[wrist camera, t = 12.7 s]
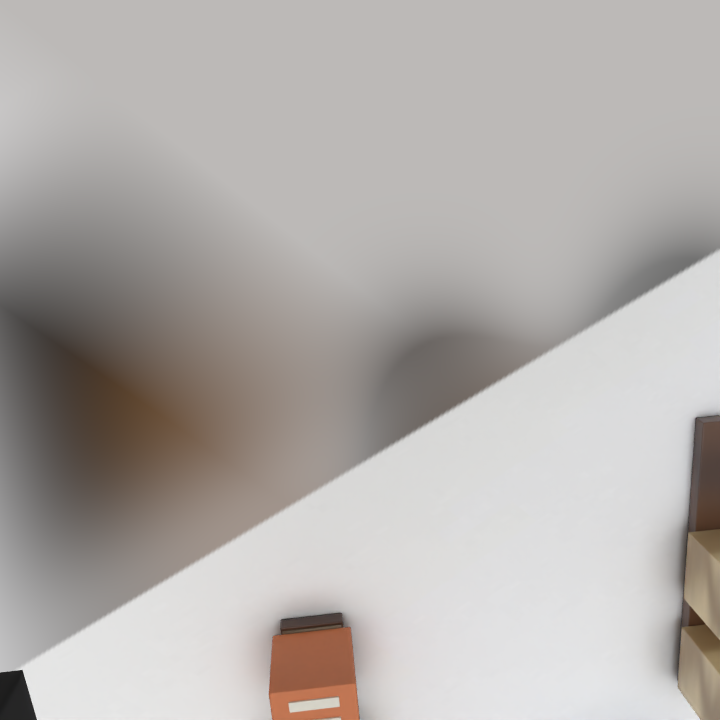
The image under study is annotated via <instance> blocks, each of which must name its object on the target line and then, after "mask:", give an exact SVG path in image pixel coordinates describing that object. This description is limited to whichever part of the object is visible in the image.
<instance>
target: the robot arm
mask: <svg viewBox="0 0 720 720" xmlns="http://www.w3.org/2000/svg"><path fill="white" fill-rule="evenodd" d="M0 720H37V719H36V715H35V712H34V708H33V705H32V701H31V698H30V695H29V691H28V688H27V684H26V681H25V677H24V674H23V670H18V671H10V672H1V673H0Z"/></svg>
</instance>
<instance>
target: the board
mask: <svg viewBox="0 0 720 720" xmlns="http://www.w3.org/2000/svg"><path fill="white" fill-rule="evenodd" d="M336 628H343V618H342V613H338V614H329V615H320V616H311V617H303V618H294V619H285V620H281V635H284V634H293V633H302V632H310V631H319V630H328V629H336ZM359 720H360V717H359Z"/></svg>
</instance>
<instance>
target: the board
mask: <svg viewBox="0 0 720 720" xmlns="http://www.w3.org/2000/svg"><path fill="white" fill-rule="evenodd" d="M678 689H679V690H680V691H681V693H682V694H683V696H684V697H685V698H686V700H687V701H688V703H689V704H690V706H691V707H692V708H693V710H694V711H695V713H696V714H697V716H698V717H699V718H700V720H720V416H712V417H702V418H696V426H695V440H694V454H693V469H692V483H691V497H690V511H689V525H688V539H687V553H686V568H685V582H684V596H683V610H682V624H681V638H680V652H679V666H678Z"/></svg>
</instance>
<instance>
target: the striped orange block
mask: <svg viewBox="0 0 720 720" xmlns="http://www.w3.org/2000/svg"><path fill="white" fill-rule="evenodd" d="M269 699H270V706H271V713H272V720H359V709H358V698H357V688H356V677H355V667H354V657H353V646H352V636H351V628H350V627H345V628H336V629H328V630H319V631H310V632H302V633H293V634H284V635H275V636H273V640H272V655H271V670H270V685H269Z"/></svg>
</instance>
